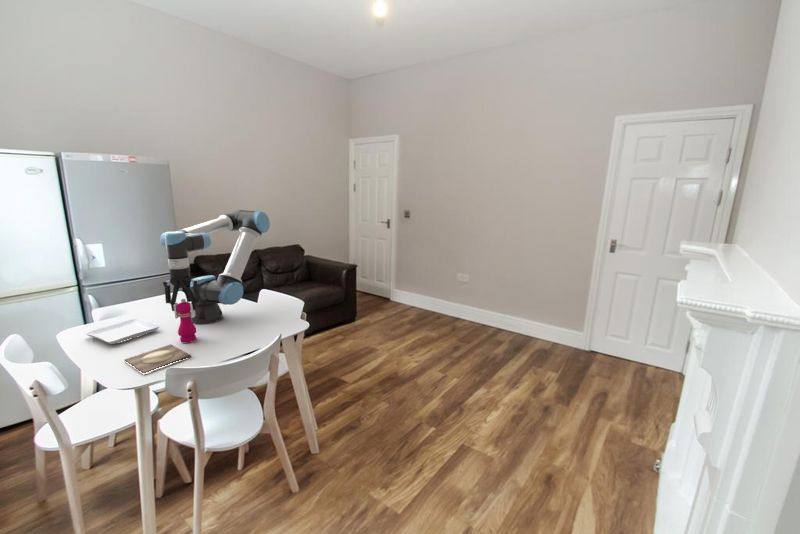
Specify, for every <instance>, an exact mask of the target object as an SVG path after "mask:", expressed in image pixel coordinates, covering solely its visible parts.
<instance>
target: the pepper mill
mask: <svg viewBox="0 0 800 534" xmlns="http://www.w3.org/2000/svg"><path fill="white" fill-rule="evenodd" d="M191 303H192V302H191ZM191 303H190V302H189V301H186V299H185V298H182V299H181V301H180V302H178V305H177V307H176V309H177V311H178V312H179V317H178V318H180V322H179V326H178V329H177V335H178V336H179V342H180V341H181V342H189V343H192V341H193V342H194V340H195V341H196V340H197V336H196V333H197V327H196V324H194V323H192V320H191V308H190V304H191ZM181 342H180V343H181Z"/></svg>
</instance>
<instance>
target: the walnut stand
mask: <svg viewBox="0 0 800 534" xmlns="http://www.w3.org/2000/svg"><path fill="white" fill-rule="evenodd" d="M190 357H191V358H192V356H191V353H188V352H186V351H185V350H182V349H181V348H178V347H177V346H175V345H173V344H171V343H169V344H167V345H164V346H161V347H158V348H155V349H151V350H150V351H145V352H142V353H139V354H137V355H134V356H131V357H128V358H125V359H124V362H125V361H126V362H128V363H129V364H131V365H132V366H134V367H135V368H136V369H138V370H139V371H141V372H142V373H146V372H149V371H151V370H154V369H156V368H159V367H162V366H165V365H168V364H170V363H173V362H176V361H179V360H183V359H186V358H189V359H191V358H190ZM186 360H187V359H186ZM183 361H184V360H183ZM136 369H135V370H136Z"/></svg>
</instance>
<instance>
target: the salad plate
mask: <svg viewBox="0 0 800 534" xmlns="http://www.w3.org/2000/svg"><path fill="white" fill-rule="evenodd" d="M131 324H135V325H137V326H141V327H143V328H146V329H149V330H146V331H142V332H139V333H135V334H132V335H129V336H126V337H123V338H120V339H117V340H114V341H108V340H105V339H102V338H100V337H97V336H94V335H96V334H100V333H103V332H107V331H110V330H113V329H116V328H120V327H123V326H127V325H131ZM159 328H160V325H158V324H155V323H152V322H148V321H145V320H143V319H140V318H139V319H138V318H132V319H129V320H125V321H121V322H118V323H114V324H110V325H107V326H104V327H101V328H97V329H94V330H90V331H87V332H85V335H87V336H88V337H90V338H91V337H92V338H95V339H96V340H100V341H102V342H105V343H106V344H109V345H116V344H115V343H117V344H119V343H118V342H121V341H124V340H127V339H130V338H133V339H135V338H134V337H136V338H138V337H137V336H139V337H141V336H140V335H142V336H144V335H143V334H145V335H147V334H146V333H148V334H151V333H153V332H155V331H157V330H158V329H159ZM150 332H151V333H150ZM130 340H131V339H130ZM127 341H128V340H127ZM124 342H125V341H124ZM121 343H122V342H121Z"/></svg>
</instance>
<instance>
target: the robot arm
mask: <svg viewBox="0 0 800 534" xmlns="http://www.w3.org/2000/svg"><path fill="white" fill-rule="evenodd" d="M270 225H271V221H270V218H269V215H268V214H267V213H266V212H265V211H262V210H261V211H260V210H243V209H238V210H234V211H231V212H227V213H225V214H221V215H219V216H218V218H215V219H211V220H208V221H205V222H202V223H199V224H195V225H193V226H189V227H185V228H182V229H179V230H176V231H166V232H163V233H162V234H161V235H160V240H159V241H160V243H161V245H162V246H163V247H165V248H166V255H167V256H166V257H167V263H168V268H169V269H168V271H169V277H170V278H169V280H165V281H163V282H162V284H163V286H164V295H165V297H164V298H165V303H166V304H170V306H171V311H172V312H174V318H175V319H178V318H180V317H179V312H178V311H177V309H176V307H177V305H178V304H179V302H177V297H178V294H179V289H183V290H184V291H185V292H186V294H187V296H188V298H189V300H190V302H191V304H190V308H191V320H192V323H193V324H194V325H207V324H212V323H216V322H219V321H221V320H222V319H223V318H224V314H223V311H222V309H221V307H220V305H219V304H222V305H225V306H226V305H235V304H237V303H238V302H239V301H240V300H241V299H242V297H243V295H244V286H243V285H242V284H243V280H242V279H241V278H242V276H243V273H244V271H245V268H246V267H247V264H248V261H249V258H250V257H251V254H252V251H253V249H254V246H255V244H256V241H257V240H259V239H260V238H261V237H262V235H263V233H264V234H265V233H267V232H268V231H269V230H270V227H271V226H270ZM234 231H235V232H236V231H238V232H239V236H238V238H237V240H236V243H235V246H234V248H233V250H232V252H231V255H230V257H229V259H228V262H227V264H226V265H225V269H224V271H223V272H222V273H220V274H218V276H217V277H216V276H215V275H212V274H211V275H203V276H198V277H194V278H192V277H191V270H190V260H189V253H190V252H196V251H200V250H202V251H203V250H206V249H208V248H210V246H211V243H212V241H211V237H213V236H215V235H216V236H217V235H219V234H221V233H223V232H224V233H229V232H234ZM216 278H217V279H216ZM171 284H172V286H173V289H172V294H171Z"/></svg>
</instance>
